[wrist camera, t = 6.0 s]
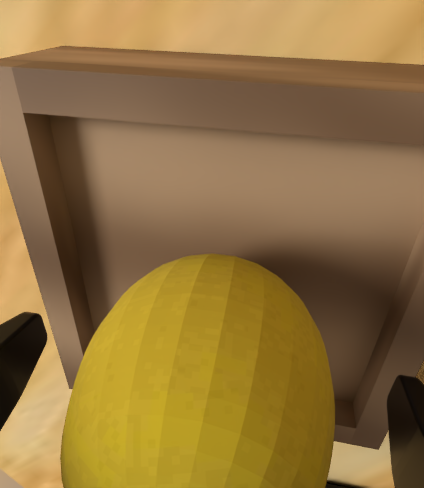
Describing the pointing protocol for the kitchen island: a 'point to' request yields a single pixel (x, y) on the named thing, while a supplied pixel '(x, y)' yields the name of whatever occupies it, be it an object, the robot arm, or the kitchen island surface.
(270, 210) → the walnut base
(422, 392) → the robot arm
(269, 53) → the kitchen island surface
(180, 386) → the lemon
